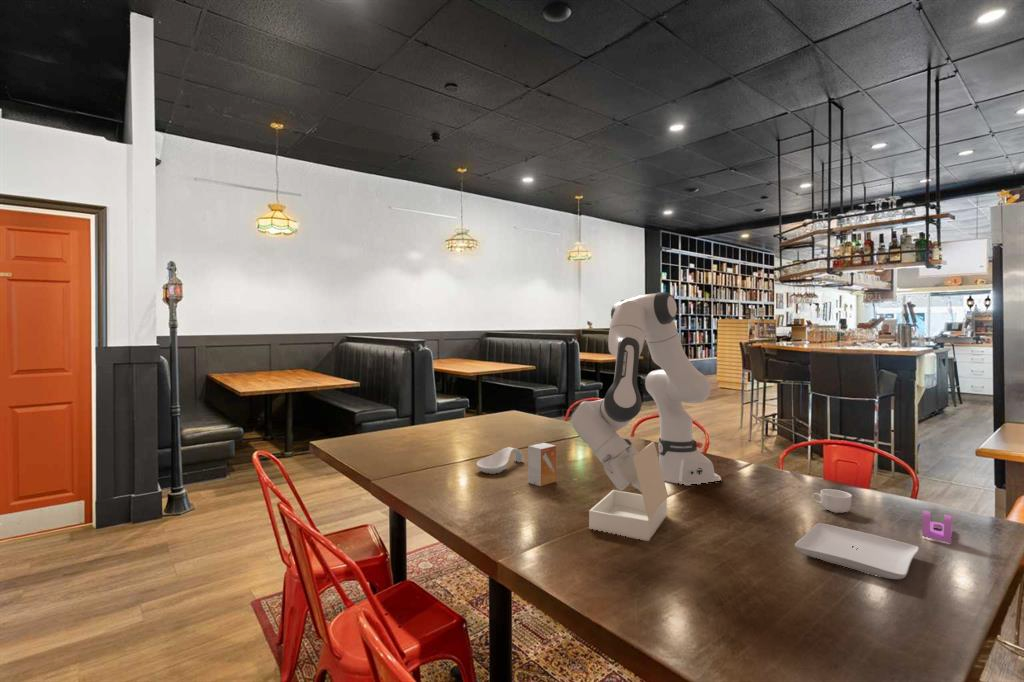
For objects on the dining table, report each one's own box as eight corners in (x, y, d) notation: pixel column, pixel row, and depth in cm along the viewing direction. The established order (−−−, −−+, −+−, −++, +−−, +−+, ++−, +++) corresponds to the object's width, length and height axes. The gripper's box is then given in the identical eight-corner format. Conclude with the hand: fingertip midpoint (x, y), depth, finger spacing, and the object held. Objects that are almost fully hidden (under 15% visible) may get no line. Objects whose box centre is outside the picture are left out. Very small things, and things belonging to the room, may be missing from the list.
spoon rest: (494, 478, 181) (494, 459, 181) (470, 473, 188) (470, 454, 188) (531, 464, 200) (531, 446, 200) (507, 460, 207) (507, 442, 207)
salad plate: (817, 533, 133) (817, 520, 133) (919, 559, 118) (920, 544, 118) (792, 558, 118) (792, 544, 118) (905, 592, 103) (906, 575, 103)
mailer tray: (589, 528, 135) (589, 510, 135) (612, 506, 152) (613, 489, 152) (648, 541, 127) (648, 521, 127) (666, 515, 144) (666, 498, 144)
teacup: (851, 509, 149) (851, 491, 149) (851, 518, 143) (852, 499, 143) (812, 503, 155) (812, 486, 155) (811, 511, 148) (811, 493, 148)
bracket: (950, 545, 125) (951, 518, 125) (922, 539, 129) (922, 512, 128) (952, 530, 134) (952, 504, 134) (925, 524, 138) (925, 499, 138)
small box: (540, 487, 171) (540, 449, 170) (527, 482, 175) (527, 445, 175) (556, 482, 176) (556, 445, 176) (543, 478, 181) (543, 442, 181)
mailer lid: (632, 456, 128) (634, 456, 128) (652, 441, 146) (654, 441, 146) (648, 519, 127) (650, 519, 127) (666, 496, 144) (668, 496, 144)
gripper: (608, 452, 131) (645, 496, 127) (631, 438, 149) (664, 475, 144) (592, 467, 134) (628, 510, 129) (616, 451, 151) (648, 488, 147)
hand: (647, 491), depth 137 cm, fingers closed
